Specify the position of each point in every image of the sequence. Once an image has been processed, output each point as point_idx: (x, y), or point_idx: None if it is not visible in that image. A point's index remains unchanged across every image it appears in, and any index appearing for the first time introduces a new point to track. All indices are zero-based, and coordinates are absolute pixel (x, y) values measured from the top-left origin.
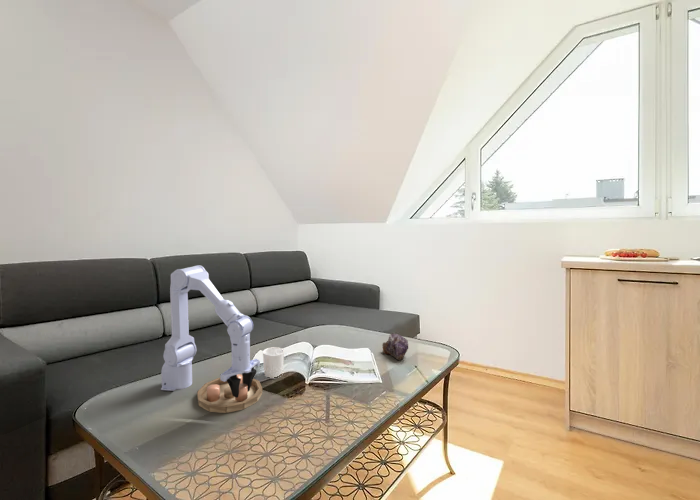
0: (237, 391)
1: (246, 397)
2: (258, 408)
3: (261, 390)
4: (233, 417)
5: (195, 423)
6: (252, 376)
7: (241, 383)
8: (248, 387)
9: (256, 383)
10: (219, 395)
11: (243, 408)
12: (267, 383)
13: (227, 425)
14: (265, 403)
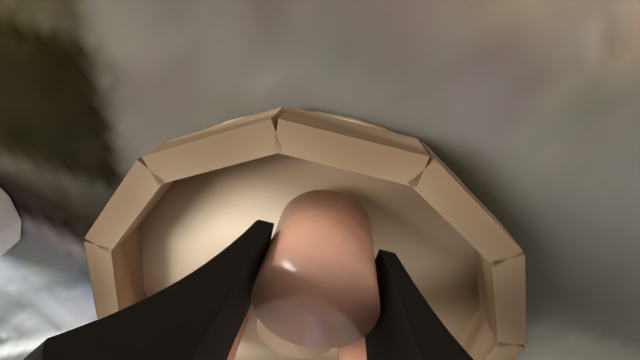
0: (412, 291)
1: (321, 196)
2: (336, 54)
3: (167, 147)
4: (506, 157)
5: (604, 306)
6: (167, 326)
7: None
8: (262, 245)
9: (123, 235)
10: (359, 345)
11: (425, 144)
12: (49, 189)
13: (620, 137)
14: (249, 43)
